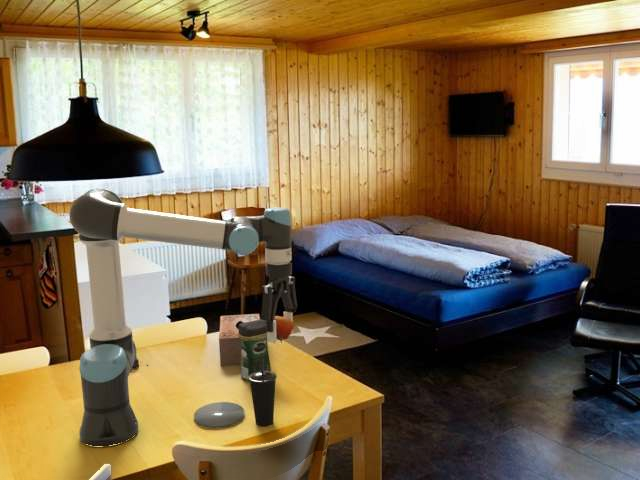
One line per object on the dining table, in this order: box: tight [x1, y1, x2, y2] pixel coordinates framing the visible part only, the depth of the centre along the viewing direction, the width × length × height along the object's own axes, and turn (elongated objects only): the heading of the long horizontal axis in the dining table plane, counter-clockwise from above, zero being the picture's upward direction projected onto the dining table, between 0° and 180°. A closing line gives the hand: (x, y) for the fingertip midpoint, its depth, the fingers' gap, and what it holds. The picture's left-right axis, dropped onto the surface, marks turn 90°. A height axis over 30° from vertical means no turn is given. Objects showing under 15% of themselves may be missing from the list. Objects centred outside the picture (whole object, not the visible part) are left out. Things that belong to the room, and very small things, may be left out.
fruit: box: [266, 315, 295, 344], centre depth 195 cm, size 8×8×8 cm
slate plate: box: [193, 401, 245, 429], centre depth 189 cm, size 14×14×1 cm
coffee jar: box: [238, 318, 272, 381], centre depth 216 cm, size 10×8×19 cm
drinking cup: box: [248, 354, 278, 428], centre depth 183 cm, size 8×8×20 cm
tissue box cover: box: [218, 313, 261, 367], centre depth 240 cm, size 26×14×10 cm, turn 7°
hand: (280, 337), depth 196 cm, fingers closed on fruit, 8 cm apart
